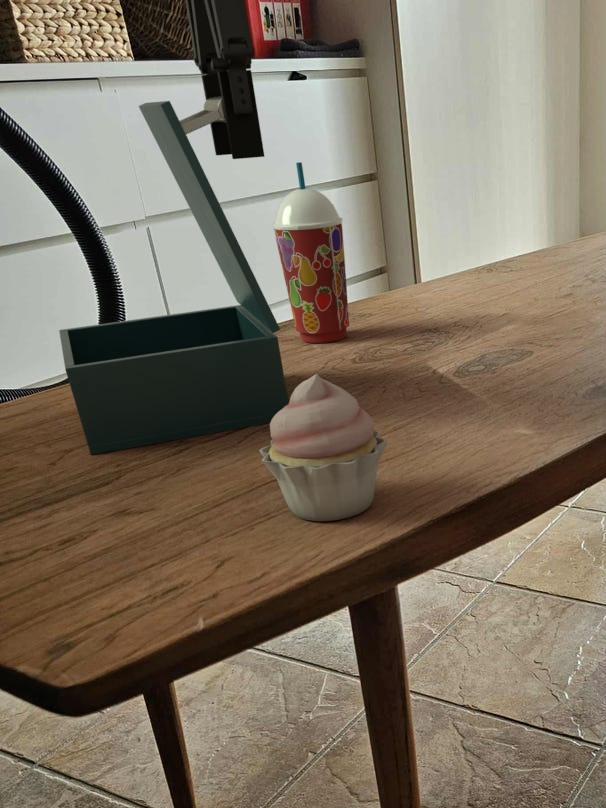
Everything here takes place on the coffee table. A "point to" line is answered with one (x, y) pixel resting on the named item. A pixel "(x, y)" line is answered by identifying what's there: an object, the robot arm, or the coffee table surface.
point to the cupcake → (324, 452)
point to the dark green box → (173, 377)
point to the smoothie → (313, 263)
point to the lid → (206, 199)
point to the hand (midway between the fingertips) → (239, 155)
